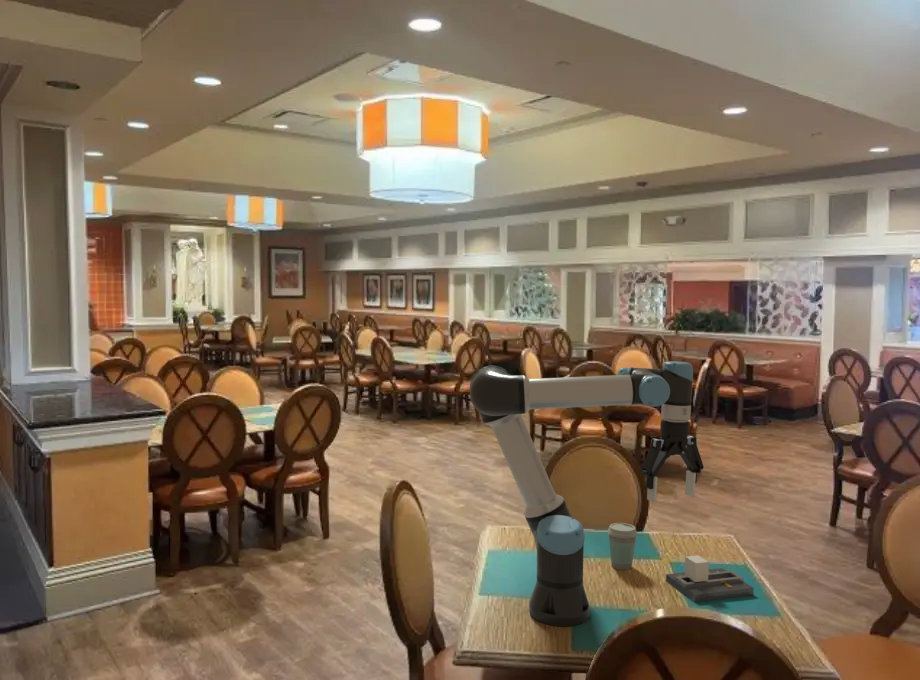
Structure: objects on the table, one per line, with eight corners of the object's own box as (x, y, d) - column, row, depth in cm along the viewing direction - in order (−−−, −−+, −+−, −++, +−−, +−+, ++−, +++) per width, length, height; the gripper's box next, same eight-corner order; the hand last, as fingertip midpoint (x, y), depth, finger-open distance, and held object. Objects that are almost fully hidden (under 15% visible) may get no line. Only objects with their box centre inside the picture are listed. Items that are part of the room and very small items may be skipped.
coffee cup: (637, 573, 209) (637, 532, 209) (606, 570, 211) (607, 530, 210) (635, 562, 218) (636, 523, 217) (606, 559, 220) (607, 521, 219)
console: (694, 602, 190) (694, 591, 190) (666, 581, 204) (666, 570, 204) (753, 594, 195) (753, 584, 195) (721, 574, 208) (722, 564, 208)
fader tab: (694, 586, 195) (695, 563, 195) (684, 579, 200) (685, 556, 200) (708, 585, 196) (708, 561, 196) (697, 577, 201) (698, 555, 201)
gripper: (649, 425, 184) (644, 506, 185) (720, 419, 195) (715, 497, 197) (629, 419, 190) (625, 498, 192) (699, 414, 202) (694, 489, 203)
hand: (670, 498), depth 194 cm, fingers open, 13 cm apart
